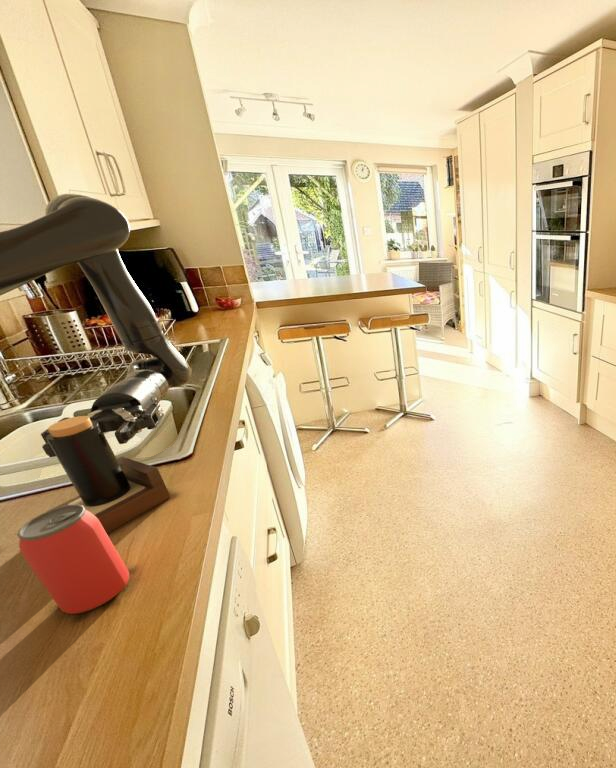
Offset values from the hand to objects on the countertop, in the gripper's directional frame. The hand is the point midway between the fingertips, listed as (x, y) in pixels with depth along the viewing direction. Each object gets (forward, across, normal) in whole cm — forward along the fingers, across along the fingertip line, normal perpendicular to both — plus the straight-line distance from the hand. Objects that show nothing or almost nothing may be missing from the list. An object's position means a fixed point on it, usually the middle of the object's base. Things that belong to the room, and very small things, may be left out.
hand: (85, 445), depth 63 cm
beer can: (+20, +5, +12) cm, 24 cm away
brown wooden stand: (+1, 0, +12) cm, 12 cm away
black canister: (+1, 0, +9) cm, 9 cm away
